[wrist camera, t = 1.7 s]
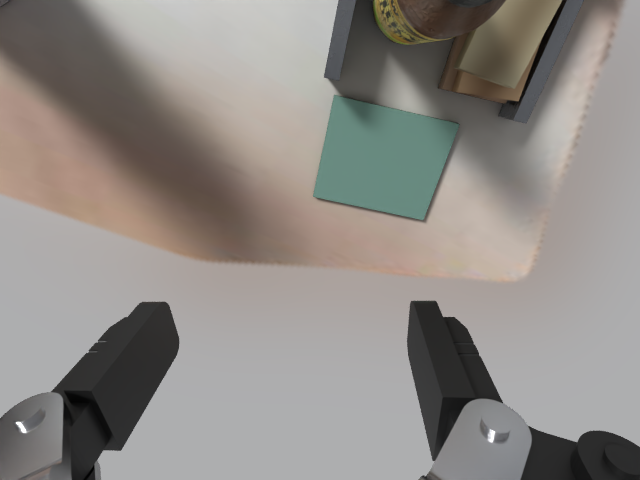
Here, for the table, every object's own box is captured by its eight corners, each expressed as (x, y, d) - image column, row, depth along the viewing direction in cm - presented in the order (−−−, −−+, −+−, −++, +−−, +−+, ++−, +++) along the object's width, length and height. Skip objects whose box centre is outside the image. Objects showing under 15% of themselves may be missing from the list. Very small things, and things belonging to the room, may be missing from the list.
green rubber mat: (313, 194, 36) (312, 196, 36) (334, 94, 32) (334, 95, 31) (422, 217, 37) (423, 220, 36) (457, 123, 32) (459, 124, 32)
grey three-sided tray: (325, 75, 31) (323, 77, 26) (366, -131, 25) (372, -174, 20) (510, 118, 32) (538, 127, 27) (594, -70, 26) (648, -99, 21)
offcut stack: (436, 87, 31) (450, 90, 27) (487, -67, 26) (515, -91, 22) (500, 102, 31) (524, 108, 27) (564, -47, 26) (604, -67, 22)
